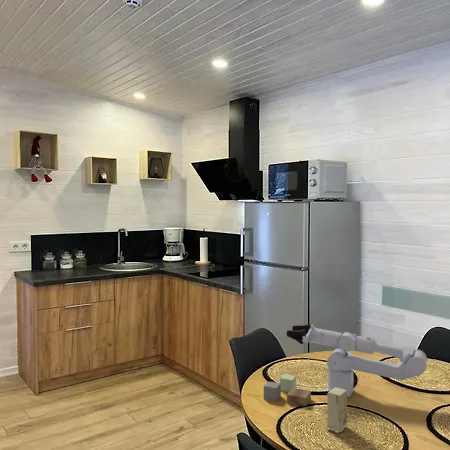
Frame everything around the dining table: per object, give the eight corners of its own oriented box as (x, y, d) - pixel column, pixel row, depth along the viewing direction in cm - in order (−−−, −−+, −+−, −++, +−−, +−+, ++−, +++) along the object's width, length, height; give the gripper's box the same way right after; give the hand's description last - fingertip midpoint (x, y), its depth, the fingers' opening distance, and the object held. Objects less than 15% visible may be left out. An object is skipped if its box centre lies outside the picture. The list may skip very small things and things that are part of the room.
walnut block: (310, 400, 170) (310, 390, 170) (305, 407, 164) (305, 398, 163) (292, 396, 173) (292, 387, 173) (286, 404, 167) (286, 394, 166)
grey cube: (280, 396, 173) (280, 383, 173) (276, 401, 168) (276, 388, 168) (268, 394, 175) (268, 381, 175) (263, 399, 170) (263, 386, 170)
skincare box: (339, 434, 143) (339, 396, 143) (326, 430, 146) (326, 392, 146) (347, 426, 149) (347, 389, 148) (334, 422, 151) (335, 386, 151)
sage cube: (296, 388, 180) (296, 375, 180) (292, 393, 176) (292, 380, 176) (283, 386, 183) (283, 373, 182) (279, 390, 178) (279, 378, 178)
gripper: (328, 322, 185) (295, 316, 191) (319, 331, 172) (285, 325, 177) (326, 339, 185) (294, 333, 191) (318, 350, 172) (283, 343, 178)
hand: (289, 330), depth 184 cm, fingers open, 7 cm apart
